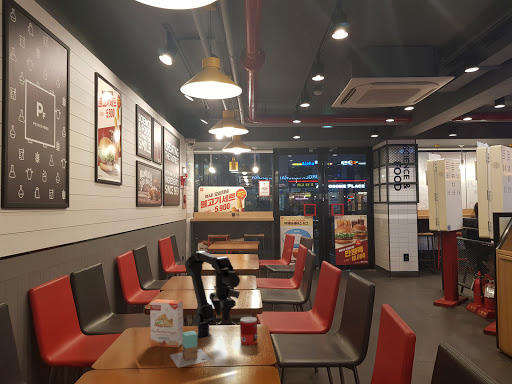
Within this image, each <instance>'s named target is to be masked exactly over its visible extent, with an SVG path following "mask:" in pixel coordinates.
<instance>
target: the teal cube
mask: <svg viewBox="0 0 512 384" xmlns="http://www.w3.org/2000/svg"><path fill="white" fill-rule="evenodd" d="M197 334H198V332H196V331H195V330H190V331H183V333H182V345H183V346H184V347H185V348H191V347H196V346H197V347H198V337H197ZM182 345H181V346H182Z"/></svg>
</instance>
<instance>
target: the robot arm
mask: <svg viewBox="0 0 512 384" xmlns="http://www.w3.org/2000/svg"><path fill="white" fill-rule="evenodd" d="M204 263H207V264H209V265H211V268H212V269H214V271H213V272H212V274H214V275H215V285H214V289H215V291H214V292H211V293H209V297H208V298H209V300H210V303H211V304H210V303H209V302H208V298H207V295H206V289H205V287H204V286H205V285H204V282H203V278H202V271H203V265H204ZM184 268H185V270H186V273H187V274H188V275H189V276H190V277H191V280H192V281H191V282H192V285H193V286H192V287H193V289H194V294H195V298H196V299H195V300H196V304H197V305H196V309H195V316H194V318H193V320H192V322H193V325H194V326H196V327H197V339H202V338H207V337H211V336H213V335H212V334H211V333H210V324H212V323H214V319H215V313H216V315H217V316H221V314H222V316H223V319H224V321H225V322H227V321H228V319H229V316H230V313H231V310H232V309H233V308H235V306H236V305H237V302H236V300H235V299H239V297H240V294H241V291H239V290H236V289H235V288H237V287H238V286H239V285H240V282H241V279H240V276H239V275H238V274H237V272H236V271H235V269H234V267H233V265H232V262H231V260H230V259H229V257H228V256H225V255H221V256H217V255H215V254H212V253H209V252H207V251H205V250H197V251H195V252H194V253H193V254H192V255H191V256H189V257H187V259H186V261H185V262H184ZM234 298H235V299H234Z"/></svg>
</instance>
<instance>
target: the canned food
mask: <svg viewBox="0 0 512 384" xmlns="http://www.w3.org/2000/svg"><path fill="white" fill-rule="evenodd" d="M239 322H240V323H239V327H240V328H239V329H240V331H239V332H240V336H239V337H240V344H241V345H243V346H254V345H256V344H257V343H258V319H257V317H254V316H244V317H243V316H242V317H241V318H240V320H239Z"/></svg>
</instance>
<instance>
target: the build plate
mask: <svg viewBox="0 0 512 384" xmlns="http://www.w3.org/2000/svg"><path fill="white" fill-rule="evenodd" d="M169 357H170V359H171V360H172V361H173V363H174V364H175V366H176V367H177V368H179V369H180V368H183V367H187V366H192V365H196V364H197V365H198V364H200V363H205V362H206V363H207V362H211V361H212V359H211V358H210V357H209V356H208V355H207V354H206V353H205V352H204V350H203V349H202V348H197V359H193V360H188V361H185V359H184V358H183V357H182V351H181V352H177V353H172V354H169Z"/></svg>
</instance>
